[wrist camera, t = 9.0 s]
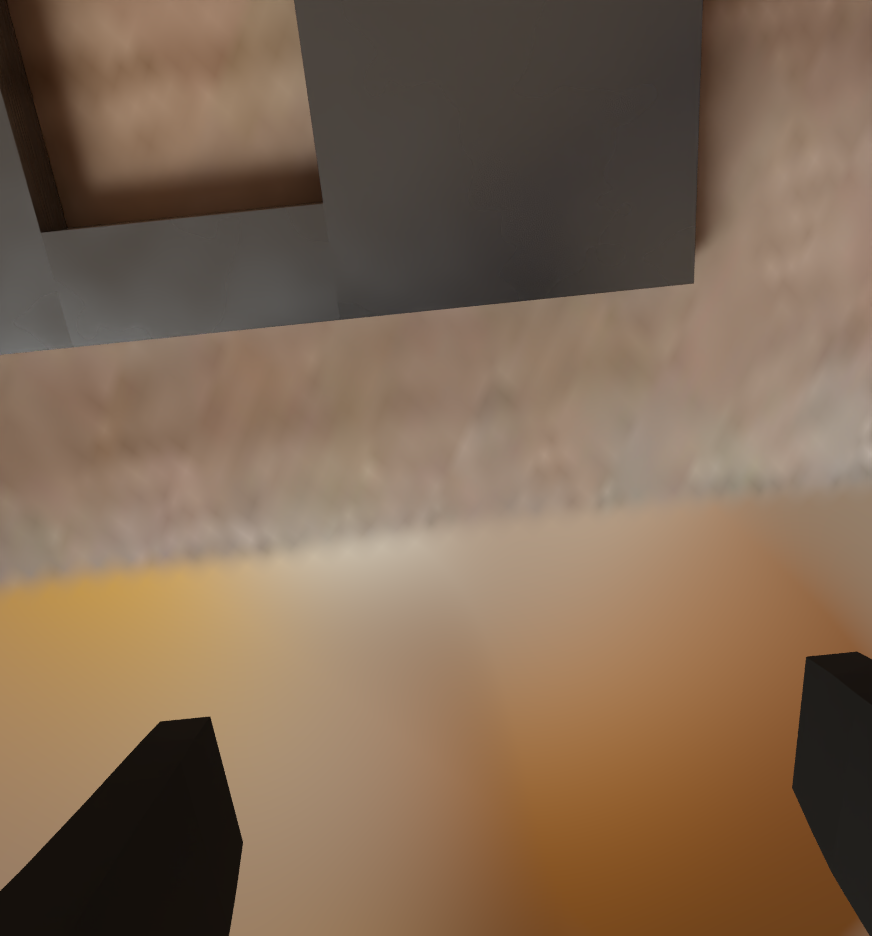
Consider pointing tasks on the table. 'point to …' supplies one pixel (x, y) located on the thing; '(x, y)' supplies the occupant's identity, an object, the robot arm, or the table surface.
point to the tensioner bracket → (396, 179)
